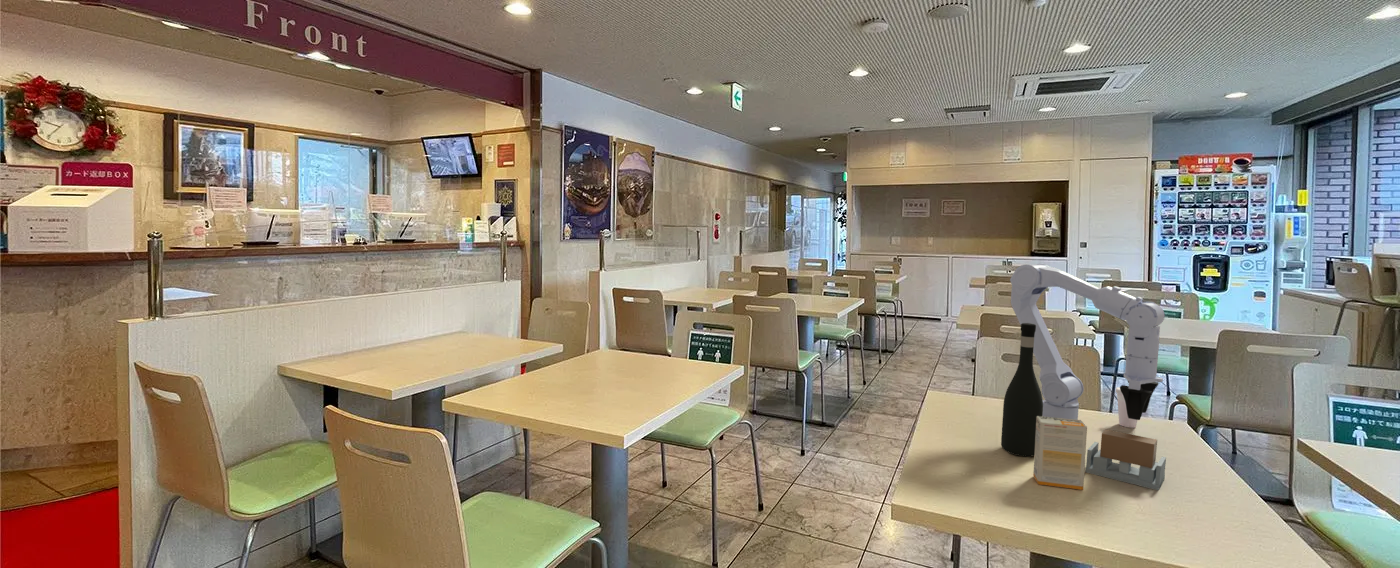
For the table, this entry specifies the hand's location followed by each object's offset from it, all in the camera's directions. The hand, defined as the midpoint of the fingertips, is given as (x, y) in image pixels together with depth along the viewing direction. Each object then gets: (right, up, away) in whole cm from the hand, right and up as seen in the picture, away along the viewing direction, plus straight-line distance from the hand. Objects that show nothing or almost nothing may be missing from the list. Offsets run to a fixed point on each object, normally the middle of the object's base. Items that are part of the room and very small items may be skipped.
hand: (1137, 415), depth 137 cm
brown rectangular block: (-9, -7, -10) cm, 15 cm away
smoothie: (+15, -8, +25) cm, 30 cm away
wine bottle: (-25, -9, +4) cm, 27 cm away
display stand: (-10, -11, -10) cm, 17 cm away
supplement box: (-26, -11, -14) cm, 32 cm away
